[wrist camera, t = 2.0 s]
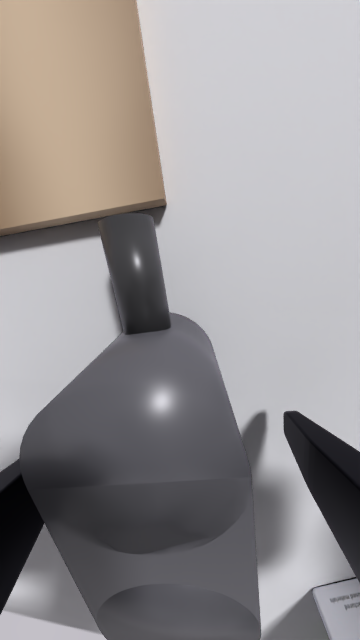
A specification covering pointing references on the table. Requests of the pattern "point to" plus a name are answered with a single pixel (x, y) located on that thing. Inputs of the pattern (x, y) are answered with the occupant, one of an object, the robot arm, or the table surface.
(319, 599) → the ink box
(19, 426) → the table surface
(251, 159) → the table surface
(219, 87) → the table surface
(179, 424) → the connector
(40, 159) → the light brown wooden board
